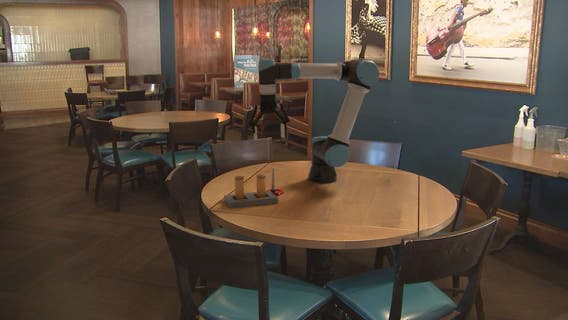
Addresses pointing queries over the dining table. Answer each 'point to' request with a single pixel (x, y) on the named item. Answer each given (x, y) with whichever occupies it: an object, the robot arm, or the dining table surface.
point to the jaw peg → (261, 186)
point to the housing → (250, 200)
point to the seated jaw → (239, 187)
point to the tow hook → (274, 186)
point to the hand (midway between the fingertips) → (269, 138)
